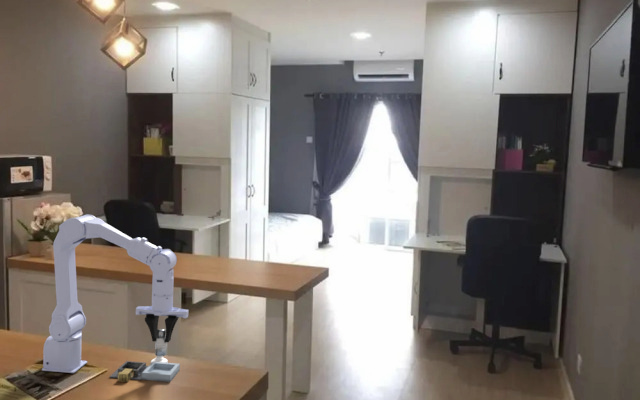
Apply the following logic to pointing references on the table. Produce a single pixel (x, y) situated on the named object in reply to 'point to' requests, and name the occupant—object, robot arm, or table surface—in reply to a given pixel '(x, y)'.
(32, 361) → the table surface
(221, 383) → the table surface
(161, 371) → the tray
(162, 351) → the stepped metal cylinder
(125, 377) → the tan stepped block
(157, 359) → the chess piece
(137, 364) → the socket
